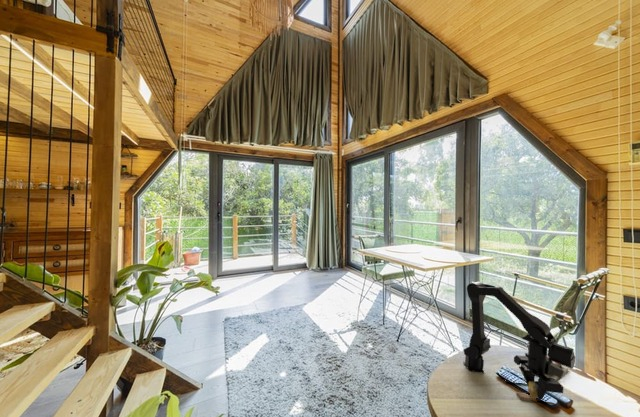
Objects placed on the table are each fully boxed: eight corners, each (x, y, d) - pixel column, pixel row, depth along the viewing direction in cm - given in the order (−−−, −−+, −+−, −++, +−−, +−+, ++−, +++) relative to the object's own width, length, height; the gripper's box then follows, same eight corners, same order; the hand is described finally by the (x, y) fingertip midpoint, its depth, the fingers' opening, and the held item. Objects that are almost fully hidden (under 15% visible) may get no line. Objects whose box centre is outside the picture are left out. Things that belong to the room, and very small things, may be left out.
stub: (520, 399, 102) (521, 384, 102) (516, 394, 105) (517, 379, 105) (554, 403, 101) (555, 387, 101) (548, 398, 103) (549, 383, 103)
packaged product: (554, 372, 113) (527, 360, 121) (554, 383, 113) (526, 371, 121) (569, 360, 122) (542, 350, 131) (568, 371, 122) (542, 360, 131)
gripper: (581, 371, 92) (578, 415, 92) (542, 344, 111) (540, 380, 111) (546, 368, 93) (544, 411, 94) (513, 341, 112) (512, 377, 112)
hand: (535, 393), depth 103 cm, fingers open, 5 cm apart
